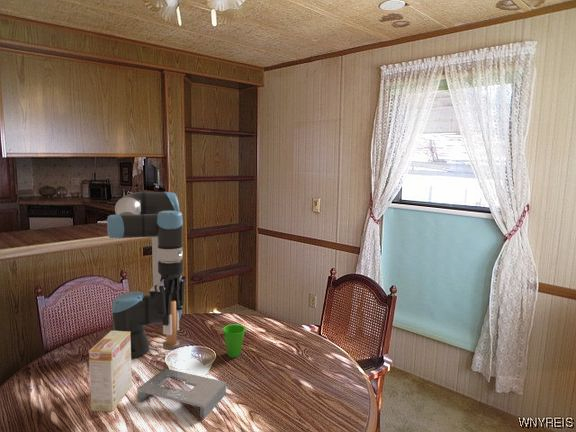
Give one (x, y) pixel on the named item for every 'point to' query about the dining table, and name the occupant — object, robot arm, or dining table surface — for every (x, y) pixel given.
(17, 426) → the dining table surface
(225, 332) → the cup
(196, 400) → the keyhole plate
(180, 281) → the robot arm
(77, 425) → the dining table surface
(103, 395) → the coffeecake box
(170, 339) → the headed peg
